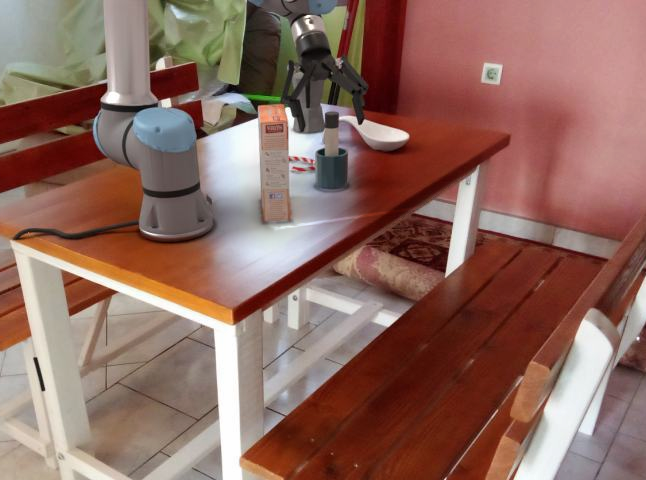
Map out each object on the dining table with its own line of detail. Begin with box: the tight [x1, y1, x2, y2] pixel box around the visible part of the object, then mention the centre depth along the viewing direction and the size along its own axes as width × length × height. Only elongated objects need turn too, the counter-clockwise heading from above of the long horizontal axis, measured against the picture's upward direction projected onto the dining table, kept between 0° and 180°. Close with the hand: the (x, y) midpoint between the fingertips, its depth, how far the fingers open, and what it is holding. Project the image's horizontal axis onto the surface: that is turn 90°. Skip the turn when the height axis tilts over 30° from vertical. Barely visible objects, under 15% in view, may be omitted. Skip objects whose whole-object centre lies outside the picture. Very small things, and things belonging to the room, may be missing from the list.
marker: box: [324, 110, 340, 156], centre depth 161 cm, size 3×3×16 cm
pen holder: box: [314, 146, 349, 190], centre depth 163 cm, size 7×7×8 cm
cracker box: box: [257, 103, 291, 223], centre depth 149 cm, size 14×6×21 cm, turn 1°
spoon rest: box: [321, 115, 410, 153], centre depth 188 cm, size 24×12×7 cm, turn 59°
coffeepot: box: [291, 71, 326, 134], centre depth 201 cm, size 15×9×18 cm, turn 175°
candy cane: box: [289, 155, 315, 172], centre depth 179 cm, size 8×1×15 cm
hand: (332, 125), depth 157 cm, fingers open, 13 cm apart
